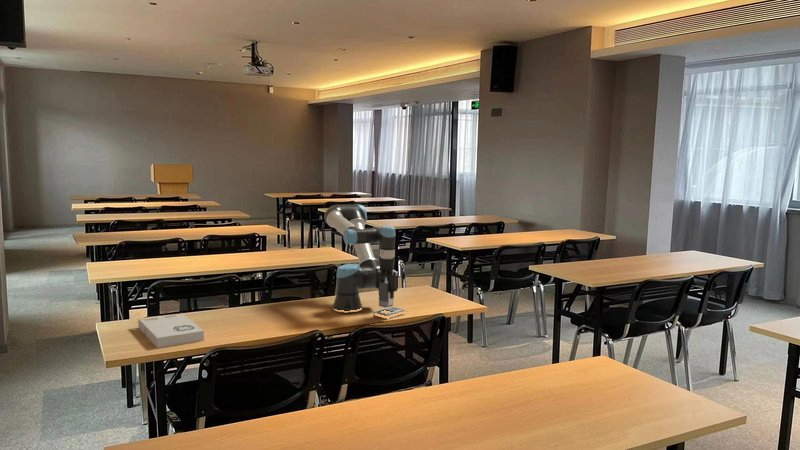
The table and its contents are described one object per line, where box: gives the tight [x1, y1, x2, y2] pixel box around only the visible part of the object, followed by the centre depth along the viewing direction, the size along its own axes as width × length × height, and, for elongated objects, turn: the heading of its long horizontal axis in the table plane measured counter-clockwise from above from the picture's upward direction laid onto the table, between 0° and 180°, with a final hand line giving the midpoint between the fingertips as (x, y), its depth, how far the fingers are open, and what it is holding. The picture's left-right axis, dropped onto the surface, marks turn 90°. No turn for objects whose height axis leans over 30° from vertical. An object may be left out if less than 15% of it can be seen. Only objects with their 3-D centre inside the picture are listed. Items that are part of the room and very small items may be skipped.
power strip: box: [373, 305, 406, 316], centre depth 293 cm, size 9×14×3 cm, turn 140°
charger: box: [378, 280, 394, 308], centre depth 289 cm, size 5×5×12 cm
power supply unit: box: [137, 312, 205, 349], centre depth 253 cm, size 19×33×5 cm, turn 37°
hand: (385, 303), depth 290 cm, fingers closed on charger, 5 cm apart
